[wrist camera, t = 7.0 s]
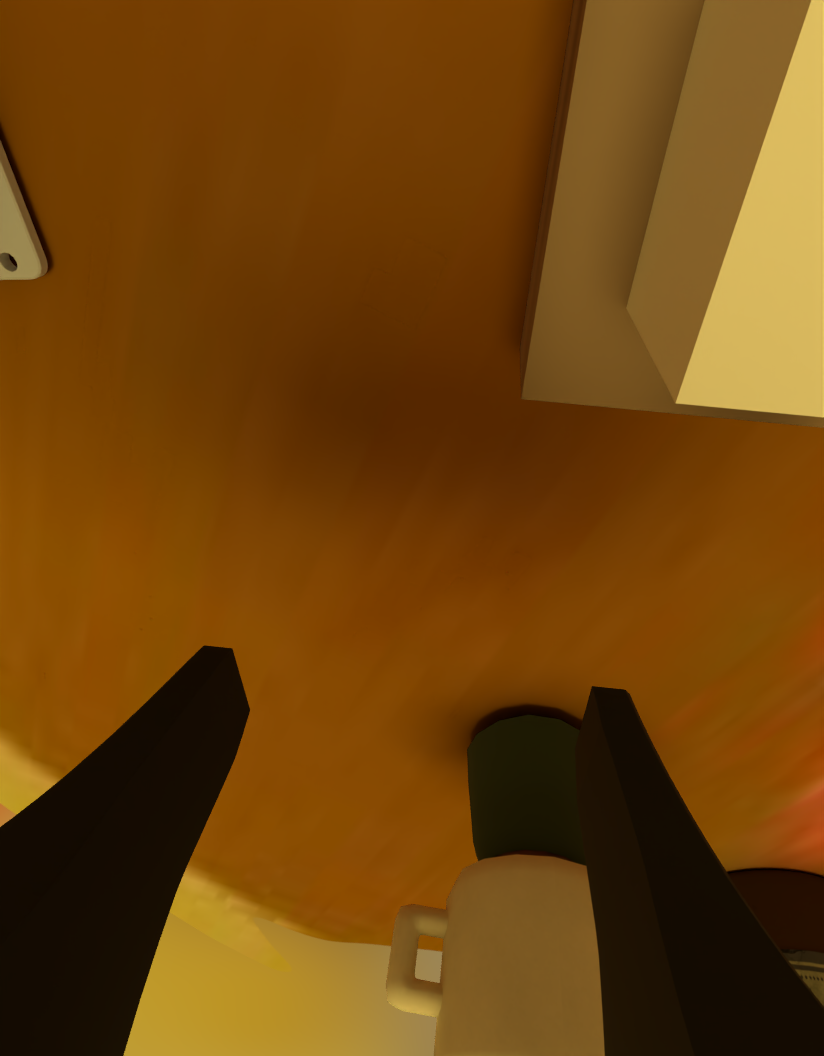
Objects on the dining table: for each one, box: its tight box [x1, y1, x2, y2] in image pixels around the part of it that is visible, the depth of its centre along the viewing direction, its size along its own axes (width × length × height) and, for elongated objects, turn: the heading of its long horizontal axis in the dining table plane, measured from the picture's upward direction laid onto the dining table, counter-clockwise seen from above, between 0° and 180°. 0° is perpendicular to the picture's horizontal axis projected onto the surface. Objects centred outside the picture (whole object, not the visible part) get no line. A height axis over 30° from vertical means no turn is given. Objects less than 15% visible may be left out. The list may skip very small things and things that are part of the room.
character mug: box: [386, 715, 605, 1056], centre depth 23 cm, size 11×7×13 cm, turn 88°
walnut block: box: [520, 0, 824, 428], centre depth 13 cm, size 9×9×4 cm
